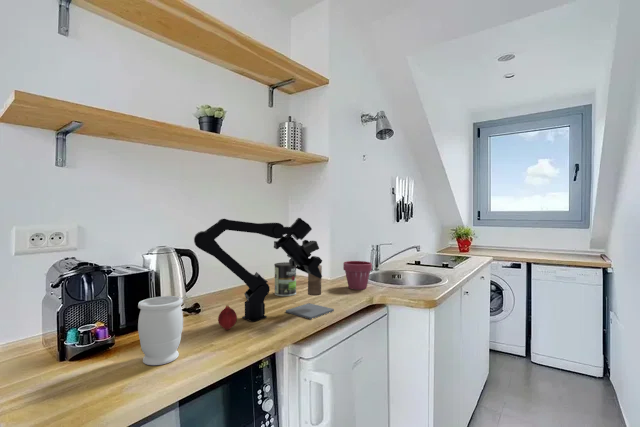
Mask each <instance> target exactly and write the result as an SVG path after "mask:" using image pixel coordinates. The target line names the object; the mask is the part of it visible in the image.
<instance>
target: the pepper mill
mask: <svg viewBox="0 0 640 427" xmlns="http://www.w3.org/2000/svg"><path fill="white" fill-rule="evenodd" d="M322 267H323V266H322V265H321V264H320V265H319V266H318V268H319V270H320V273H321V275H322V272H323V270H322V269H323V268H322ZM322 276H323V275H322ZM307 295H309V296H311V297H312V296H321V295H322V278H318V277H316V276H314V275H312V274H309V273H307Z"/></svg>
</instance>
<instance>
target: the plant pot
mask: <svg viewBox="0 0 640 427" xmlns="http://www.w3.org/2000/svg"><path fill="white" fill-rule="evenodd" d="M372 264H373V263H372V262H369V261H363V260H350V261H349V260H348V261H344V262H343V264H342V265H343V271H344V272H345V276H346V283H347V285H348V288H349V289H350V290H357V291H358V290H360V291H361V290H366V289H367V288H368V283H369V278H370V273H371V272H372V270H373V265H372Z"/></svg>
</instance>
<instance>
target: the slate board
mask: <svg viewBox="0 0 640 427" xmlns="http://www.w3.org/2000/svg"><path fill="white" fill-rule="evenodd" d="M332 311H333V312H334V311H335V309H334V308H332V307H327V306H324V305H323V306H322V305H318V304H315V303H309V302H308V303H305V304H301V305H298V306H296V307H292V308H288V309H285V313H287V314H289V315H290V314H291V315H295V316H298V317H302V318H304V317H305V318H306V319H308V318H309V320H313V319H312V318H314V319H316V318H319V317H322V316H324V315H323V314H325V315H327V314H330V313H333V312H332ZM329 312H330V313H329ZM326 313H327V314H326ZM321 315H322V316H321ZM318 316H319V317H318ZM315 317H316V318H315ZM305 318H304V319H305Z"/></svg>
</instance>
